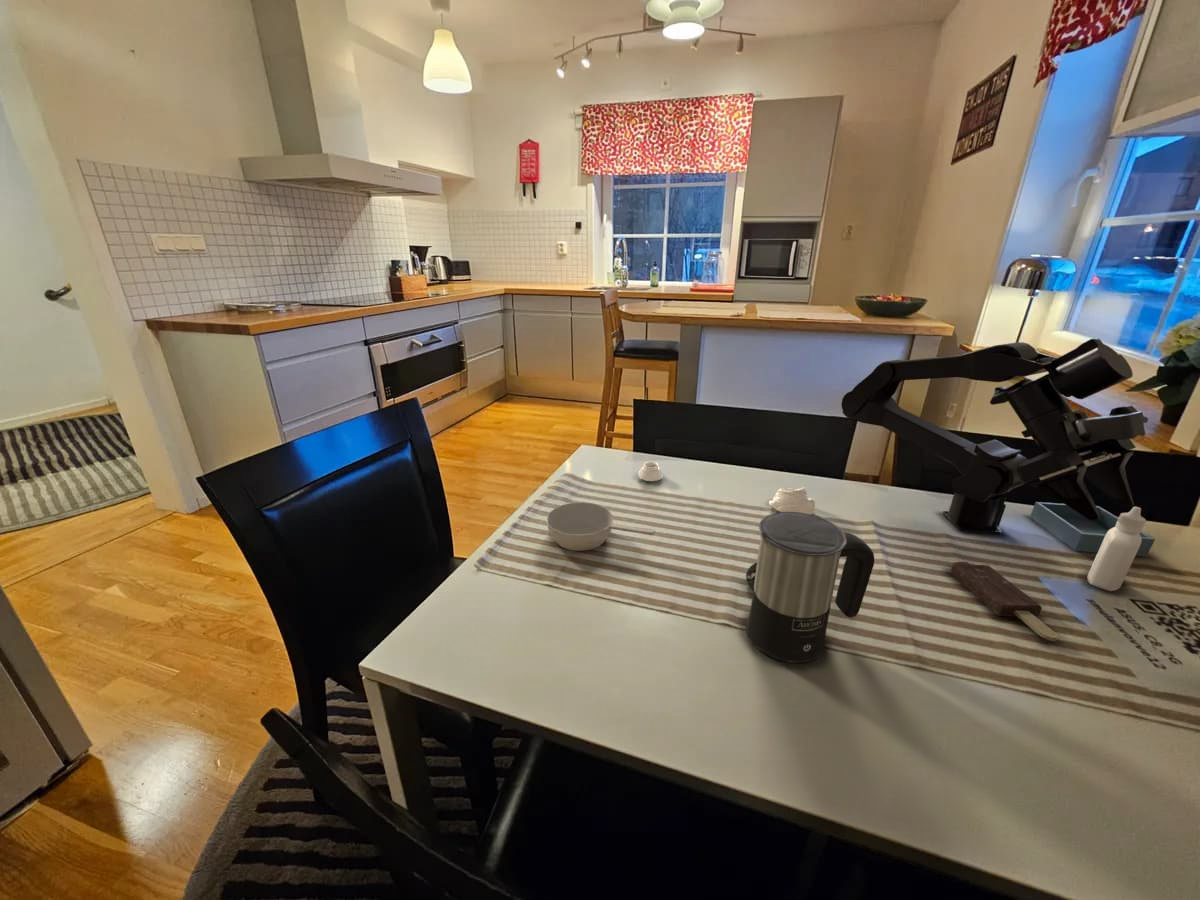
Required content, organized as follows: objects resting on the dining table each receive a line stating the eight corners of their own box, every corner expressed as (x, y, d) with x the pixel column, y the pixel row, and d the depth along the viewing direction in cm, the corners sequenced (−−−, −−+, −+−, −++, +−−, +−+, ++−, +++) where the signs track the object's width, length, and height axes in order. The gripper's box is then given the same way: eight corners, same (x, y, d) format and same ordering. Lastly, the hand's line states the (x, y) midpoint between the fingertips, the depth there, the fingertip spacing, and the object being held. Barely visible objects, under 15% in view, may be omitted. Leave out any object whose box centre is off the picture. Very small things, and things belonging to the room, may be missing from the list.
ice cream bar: (1072, 644, 59) (980, 570, 73) (1077, 633, 58) (983, 560, 72) (1029, 644, 59) (945, 570, 73) (1034, 633, 58) (948, 561, 72)
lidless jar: (662, 473, 105) (638, 472, 105) (662, 460, 104) (639, 459, 104) (662, 483, 100) (638, 482, 101) (663, 470, 99) (638, 468, 100)
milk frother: (784, 676, 54) (806, 562, 49) (695, 595, 67) (704, 497, 62) (868, 634, 60) (896, 529, 55) (772, 567, 73) (786, 477, 68)
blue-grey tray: (1075, 550, 78) (1082, 533, 77) (1029, 517, 88) (1035, 501, 87) (1147, 556, 76) (1155, 539, 75) (1092, 521, 87) (1099, 506, 85)
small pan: (565, 515, 87) (564, 496, 86) (662, 536, 81) (664, 515, 80) (535, 545, 78) (534, 524, 77) (643, 571, 72) (644, 549, 70)
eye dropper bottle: (1070, 574, 72) (1102, 501, 67) (1102, 571, 73) (1135, 499, 68) (1103, 593, 68) (1139, 517, 63) (1137, 589, 69) (1174, 514, 64)
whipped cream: (774, 521, 88) (777, 498, 85) (762, 501, 94) (764, 479, 91) (819, 518, 88) (823, 495, 85) (803, 498, 94) (806, 476, 91)
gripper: (1072, 393, 63) (1154, 507, 58) (1142, 380, 70) (1221, 480, 65) (988, 432, 73) (1051, 533, 67) (1057, 417, 80) (1119, 507, 74)
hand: (1112, 512), depth 68 cm, fingers open, 9 cm apart
